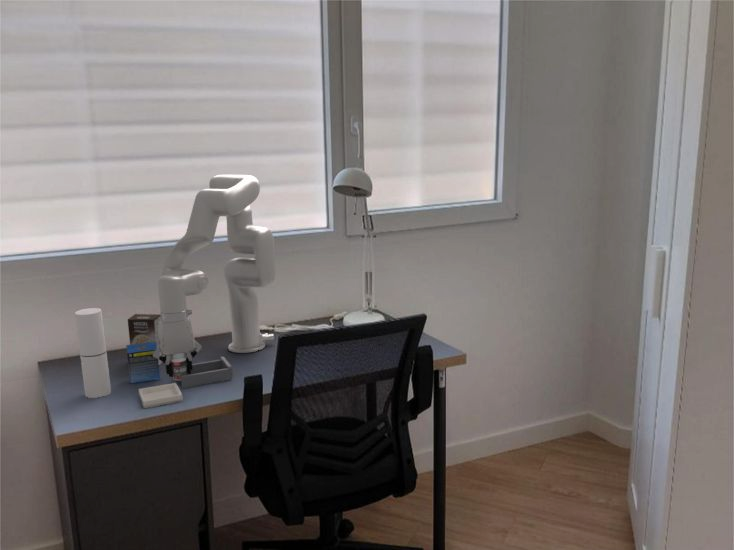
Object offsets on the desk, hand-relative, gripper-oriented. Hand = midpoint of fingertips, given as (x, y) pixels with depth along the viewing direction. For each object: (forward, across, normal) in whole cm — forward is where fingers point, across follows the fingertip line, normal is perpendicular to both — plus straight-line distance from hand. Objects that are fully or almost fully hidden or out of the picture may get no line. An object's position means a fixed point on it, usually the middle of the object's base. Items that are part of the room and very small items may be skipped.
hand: (179, 373), depth 215 cm
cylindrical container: (+3, +23, -3) cm, 24 cm away
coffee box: (+3, +6, -23) cm, 24 cm away
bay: (+3, -7, 0) cm, 8 cm away
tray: (+3, +7, +10) cm, 13 cm away
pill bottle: (+2, 0, 0) cm, 2 cm away
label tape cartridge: (+3, +9, -8) cm, 13 cm away
